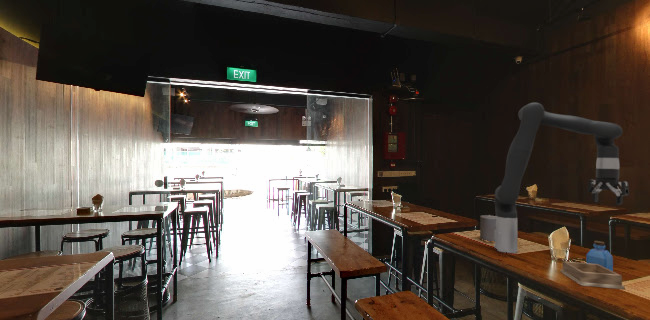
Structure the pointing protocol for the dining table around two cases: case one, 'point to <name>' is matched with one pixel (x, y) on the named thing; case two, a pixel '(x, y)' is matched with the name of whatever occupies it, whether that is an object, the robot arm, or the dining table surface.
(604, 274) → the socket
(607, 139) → the robot arm
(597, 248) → the perfume bottle
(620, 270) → the dining table surface
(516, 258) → the dining table surface
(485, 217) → the pillar candle
